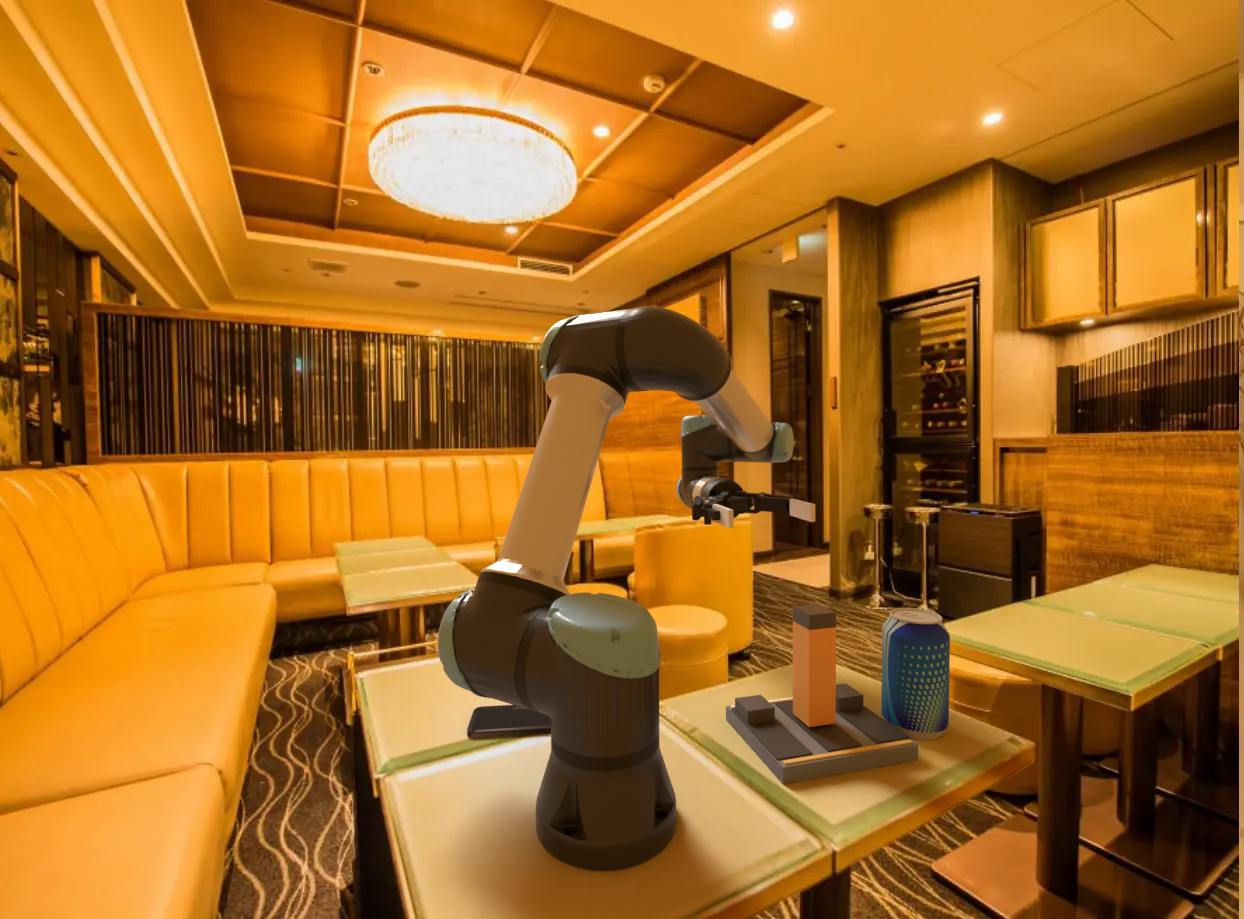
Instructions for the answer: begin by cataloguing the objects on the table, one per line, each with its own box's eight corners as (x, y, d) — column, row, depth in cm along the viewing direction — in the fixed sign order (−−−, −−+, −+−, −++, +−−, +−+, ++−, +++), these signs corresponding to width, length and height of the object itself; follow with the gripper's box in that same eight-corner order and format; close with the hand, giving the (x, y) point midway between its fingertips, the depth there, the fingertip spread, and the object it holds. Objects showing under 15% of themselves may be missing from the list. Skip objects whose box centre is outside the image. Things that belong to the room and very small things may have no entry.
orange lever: (808, 727, 76) (809, 615, 75) (792, 713, 80) (792, 606, 79) (835, 723, 77) (835, 612, 76) (818, 709, 81) (818, 603, 80)
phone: (575, 727, 81) (465, 733, 79) (575, 734, 81) (465, 740, 79) (574, 701, 88) (474, 706, 87) (574, 708, 88) (475, 713, 87)
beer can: (932, 713, 85) (933, 606, 84) (960, 744, 76) (961, 625, 76) (873, 711, 85) (873, 605, 85) (894, 741, 77) (895, 623, 76)
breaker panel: (782, 784, 68) (782, 750, 68) (725, 719, 84) (725, 692, 83) (918, 759, 73) (918, 728, 73) (840, 703, 88) (840, 677, 88)
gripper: (779, 513, 111) (845, 534, 91) (655, 522, 106) (695, 546, 85) (779, 474, 111) (845, 486, 90) (654, 481, 105) (694, 496, 85)
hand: (772, 516), depth 88 cm, fingers open, 13 cm apart
